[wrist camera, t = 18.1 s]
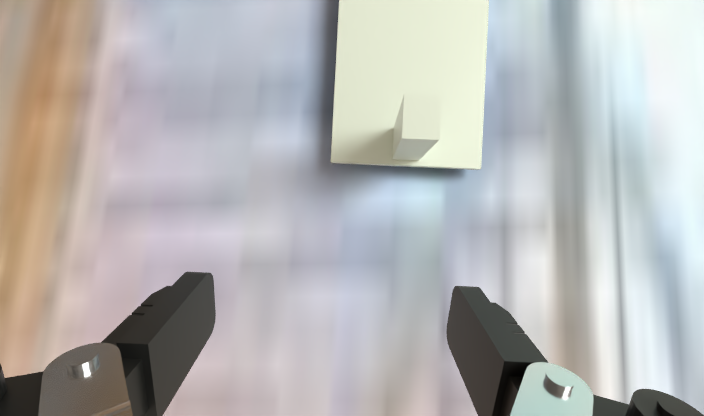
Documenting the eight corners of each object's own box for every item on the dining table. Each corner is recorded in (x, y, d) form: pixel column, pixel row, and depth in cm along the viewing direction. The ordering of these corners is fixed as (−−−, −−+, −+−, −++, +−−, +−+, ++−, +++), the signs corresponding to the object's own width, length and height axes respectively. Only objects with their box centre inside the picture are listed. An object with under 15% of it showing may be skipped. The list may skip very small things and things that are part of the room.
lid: (342, -23, 34) (331, -133, 23) (483, -20, 34) (539, -132, 23) (332, 164, 34) (316, 142, 23) (474, 171, 34) (526, 151, 23)
